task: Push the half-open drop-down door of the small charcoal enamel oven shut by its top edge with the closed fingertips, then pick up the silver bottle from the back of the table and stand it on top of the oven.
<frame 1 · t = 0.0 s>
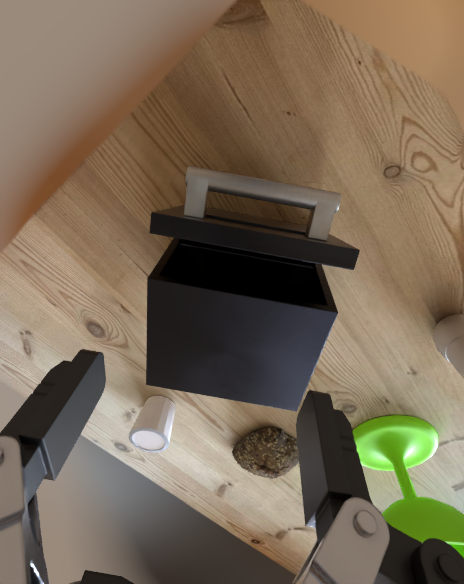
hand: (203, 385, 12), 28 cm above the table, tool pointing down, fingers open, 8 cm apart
oven: (241, 275, 42), on the table
bread roll: (269, 447, 62), on the table
oven door: (256, 210, 30), point 7 cm above the table, hinge at 13.9°
silver bottle: (451, 326, 43), on the table
white cylindrical container: (160, 405, 58), on the table
wineglass: (390, 442, 58), on the table
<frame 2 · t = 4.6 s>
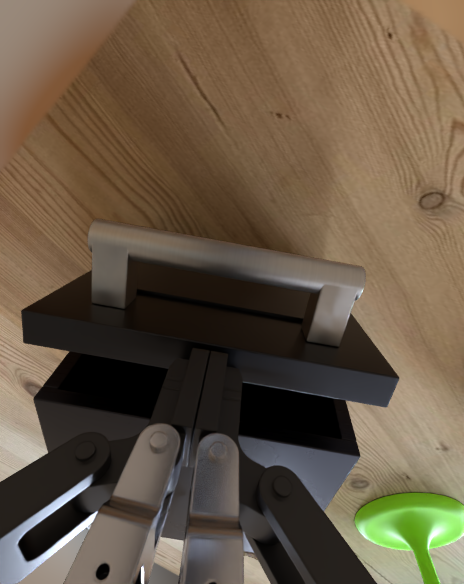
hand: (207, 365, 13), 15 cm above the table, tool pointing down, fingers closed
oven: (218, 333, 31), on the table
oven door: (227, 270, 19), point 7 cm above the table, hinge at 11.7°, touching gripper
wineglass: (409, 519, 47), on the table
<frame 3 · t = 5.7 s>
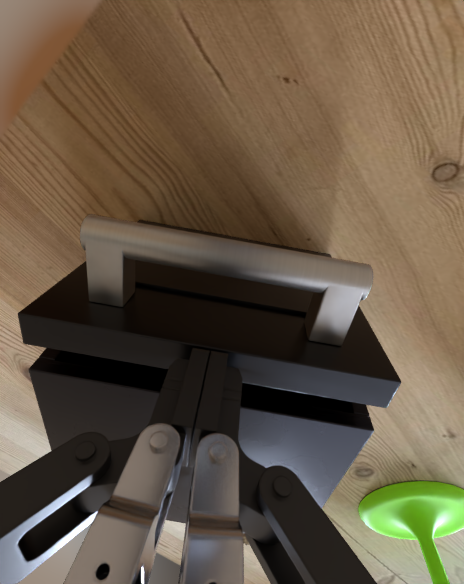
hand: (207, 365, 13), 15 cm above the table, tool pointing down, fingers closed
oven: (221, 315, 30), on the table
oven door: (229, 257, 19), point 7 cm above the table, hinge at 4.5°, touching gripper
wineglass: (414, 508, 46), on the table
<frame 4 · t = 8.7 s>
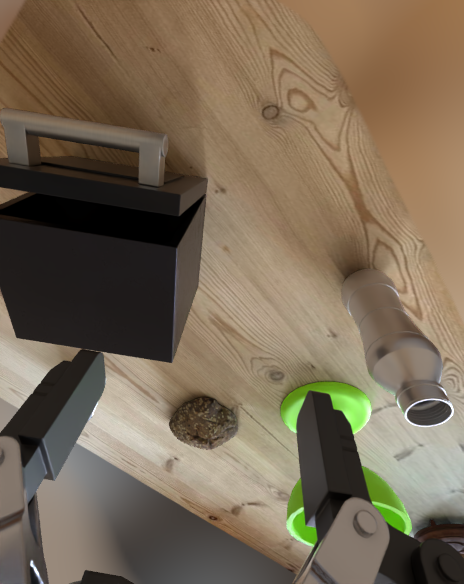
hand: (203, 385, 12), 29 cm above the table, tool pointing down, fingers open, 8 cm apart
oven: (141, 234, 41), on the table
bread roll: (206, 418, 61), on the table
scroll: (443, 529, 77), on the table
oven door: (113, 158, 29), point 7 cm above the table, hinge at 8.7°
silver bottle: (362, 283, 42), on the table
wineglass: (324, 410, 57), on the table
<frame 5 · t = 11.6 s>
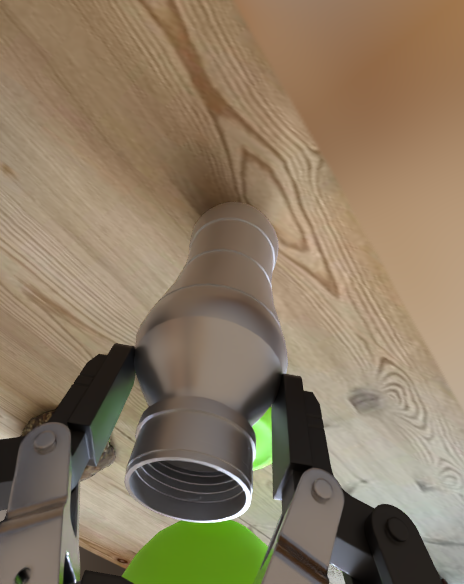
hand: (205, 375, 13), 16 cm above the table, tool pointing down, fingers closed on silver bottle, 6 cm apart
bread roll: (72, 439, 44), on the table
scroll: (407, 582, 60), on the table
silver bottle: (236, 233, 26), on the table, touching gripper
wineglass: (225, 432, 40), on the table
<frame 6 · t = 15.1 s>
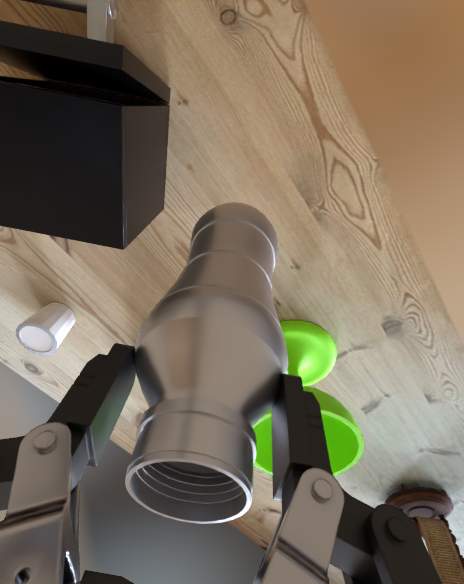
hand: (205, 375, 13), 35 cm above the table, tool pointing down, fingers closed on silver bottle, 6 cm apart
oven: (107, 150, 42), on the table
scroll: (414, 496, 77), on the table
oven door: (71, 41, 30), point 7 cm above the table, hinge at 8.7°
silver bottle: (236, 233, 26), point 19 cm above the table, touching gripper
white cylindrical container: (60, 314, 57), on the table
wineglass: (291, 354, 57), on the table
when the fingers open (31 cm above the table, at t = 18.7 s): silver bottle stays where it is, resting on oven.
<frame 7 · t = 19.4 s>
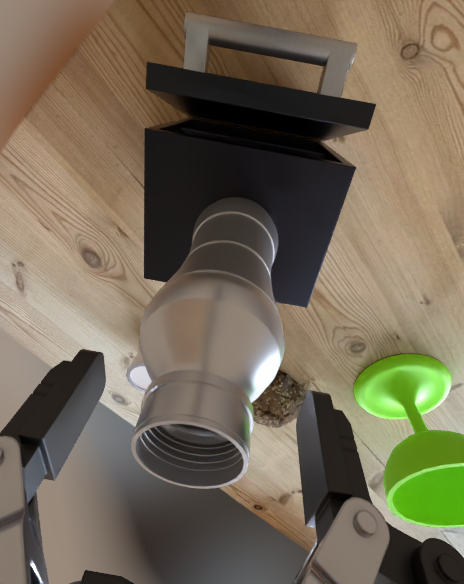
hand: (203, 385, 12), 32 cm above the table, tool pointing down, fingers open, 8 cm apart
oven: (245, 187, 39), on the table
bread roll: (273, 395, 59), on the table
oven door: (262, 86, 28), point 7 cm above the table, hinge at 8.7°
silver bottle: (237, 228, 27), point 15 cm above the table, touching oven
white cylindrical container: (160, 348, 55), on the table
wineglass: (400, 386, 55), on the table
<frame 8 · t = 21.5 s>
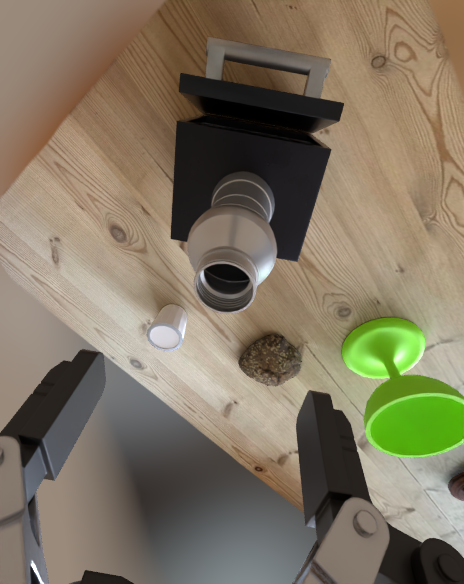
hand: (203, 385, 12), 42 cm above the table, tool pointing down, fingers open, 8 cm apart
oven: (248, 172, 48), on the table
bread roll: (272, 358, 68), on the table
oven door: (262, 90, 36), point 7 cm above the table, hinge at 8.7°
silver bottle: (244, 197, 35), point 15 cm above the table, touching oven
white cylindrical container: (174, 315, 64), on the table
wineglass: (382, 348, 64), on the table
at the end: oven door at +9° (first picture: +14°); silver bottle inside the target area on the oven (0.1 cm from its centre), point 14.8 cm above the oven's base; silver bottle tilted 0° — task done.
